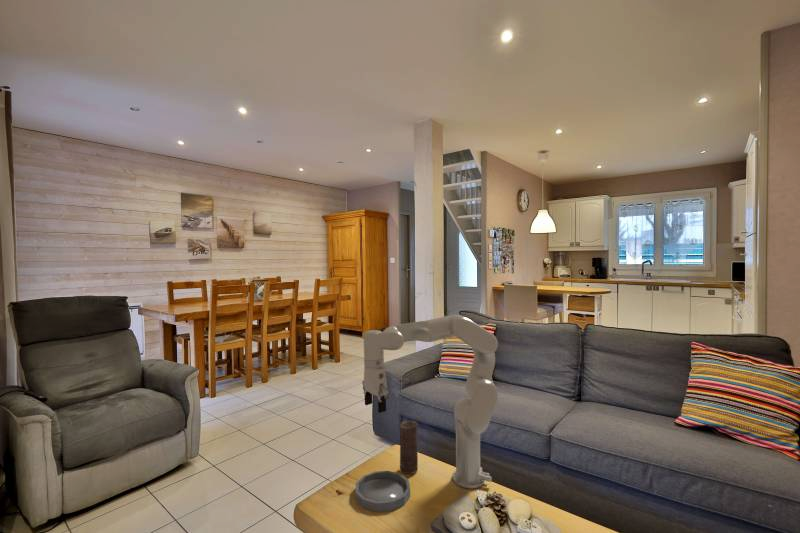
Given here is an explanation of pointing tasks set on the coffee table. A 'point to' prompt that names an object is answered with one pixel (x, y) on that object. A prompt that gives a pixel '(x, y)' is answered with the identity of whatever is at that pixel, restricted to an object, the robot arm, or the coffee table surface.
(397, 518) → the coffee table surface
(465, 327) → the robot arm
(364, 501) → the round tray
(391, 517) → the coffee table surface
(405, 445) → the mottled brown cylinder
